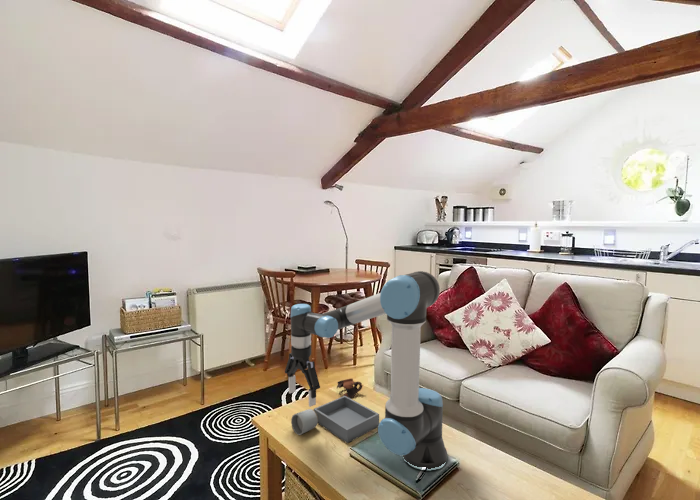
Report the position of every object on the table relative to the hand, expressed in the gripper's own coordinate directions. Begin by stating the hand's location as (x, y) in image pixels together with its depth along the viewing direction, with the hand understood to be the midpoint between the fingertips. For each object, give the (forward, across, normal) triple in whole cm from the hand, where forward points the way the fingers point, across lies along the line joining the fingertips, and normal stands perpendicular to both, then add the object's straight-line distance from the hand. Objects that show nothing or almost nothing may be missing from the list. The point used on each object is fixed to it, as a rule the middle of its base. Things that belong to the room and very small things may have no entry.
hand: (301, 398), depth 147 cm
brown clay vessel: (+13, +9, -33) cm, 36 cm away
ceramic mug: (+13, 0, 0) cm, 13 cm away
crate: (+12, -8, -15) cm, 21 cm away
